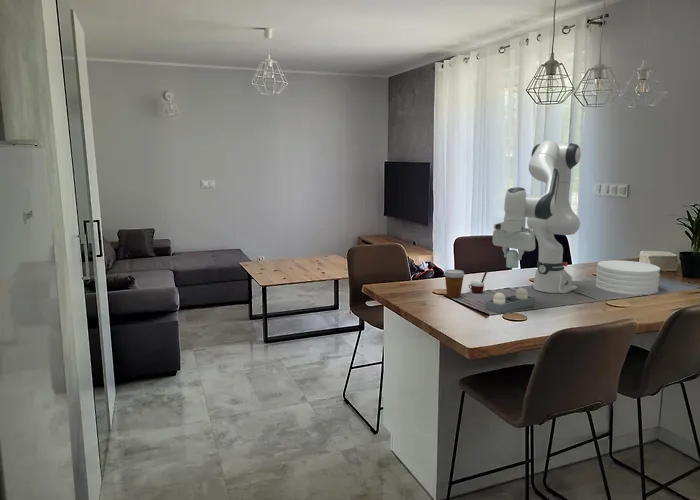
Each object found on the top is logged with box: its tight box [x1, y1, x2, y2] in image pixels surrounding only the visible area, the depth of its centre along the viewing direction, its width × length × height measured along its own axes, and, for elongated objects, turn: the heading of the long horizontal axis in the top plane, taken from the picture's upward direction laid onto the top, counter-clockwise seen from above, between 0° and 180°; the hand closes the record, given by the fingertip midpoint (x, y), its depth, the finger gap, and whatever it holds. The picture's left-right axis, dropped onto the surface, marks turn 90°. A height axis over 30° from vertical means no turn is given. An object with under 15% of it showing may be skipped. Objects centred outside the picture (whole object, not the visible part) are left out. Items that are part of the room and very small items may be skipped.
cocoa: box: [468, 268, 489, 294], centre depth 262 cm, size 10×6×12 cm, turn 30°
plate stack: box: [595, 259, 661, 296], centre depth 271 cm, size 28×28×12 cm
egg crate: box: [485, 294, 536, 314], centre depth 234 cm, size 22×8×4 cm, turn 123°
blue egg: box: [505, 249, 520, 269], centre depth 230 cm, size 5×5×8 cm
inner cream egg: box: [515, 287, 529, 300], centre depth 237 cm, size 5×5×8 cm
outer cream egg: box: [492, 292, 506, 305], centre depth 229 cm, size 5×5×8 cm
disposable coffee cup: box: [443, 269, 465, 299], centre depth 255 cm, size 10×10×12 cm
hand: (512, 258), depth 230 cm, fingers closed on blue egg, 5 cm apart
